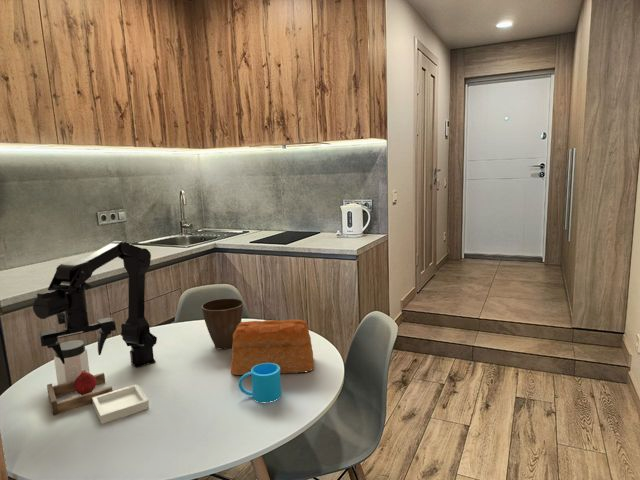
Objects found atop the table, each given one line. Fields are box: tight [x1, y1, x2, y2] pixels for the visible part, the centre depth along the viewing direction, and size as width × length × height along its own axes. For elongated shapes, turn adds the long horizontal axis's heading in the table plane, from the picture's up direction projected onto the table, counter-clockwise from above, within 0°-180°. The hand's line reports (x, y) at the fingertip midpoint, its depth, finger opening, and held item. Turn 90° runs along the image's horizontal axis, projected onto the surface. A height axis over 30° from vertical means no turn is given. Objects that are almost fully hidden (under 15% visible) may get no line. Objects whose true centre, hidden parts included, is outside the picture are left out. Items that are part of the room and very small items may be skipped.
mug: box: [237, 363, 282, 403], centre depth 124 cm, size 12×8×8 cm
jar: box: [53, 339, 91, 385], centre depth 136 cm, size 9×8×12 cm
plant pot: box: [201, 298, 244, 350], centre depth 160 cm, size 15×15×16 cm
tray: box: [92, 384, 150, 425], centre depth 121 cm, size 12×12×2 cm
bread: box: [230, 319, 315, 376], centre depth 142 cm, size 14×27×15 cm, turn 92°
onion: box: [74, 370, 97, 396], centre depth 127 cm, size 6×6×8 cm
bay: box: [46, 372, 114, 416], centre depth 126 cm, size 15×12×4 cm
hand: (82, 359), depth 126 cm, fingers open, 9 cm apart
